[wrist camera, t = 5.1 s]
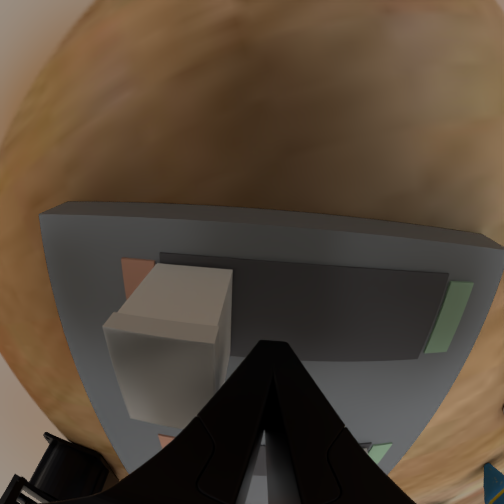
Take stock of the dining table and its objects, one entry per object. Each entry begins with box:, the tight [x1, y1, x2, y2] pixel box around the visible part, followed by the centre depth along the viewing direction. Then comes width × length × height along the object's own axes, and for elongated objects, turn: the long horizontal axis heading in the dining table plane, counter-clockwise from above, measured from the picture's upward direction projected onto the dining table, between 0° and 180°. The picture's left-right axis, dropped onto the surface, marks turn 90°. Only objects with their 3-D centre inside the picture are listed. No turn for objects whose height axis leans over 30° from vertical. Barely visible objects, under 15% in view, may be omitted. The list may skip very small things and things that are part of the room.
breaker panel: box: [39, 202, 504, 504], centre depth 15 cm, size 18×28×2 cm, turn 177°
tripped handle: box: [102, 263, 233, 429], centre depth 8 cm, size 2×3×4 cm
